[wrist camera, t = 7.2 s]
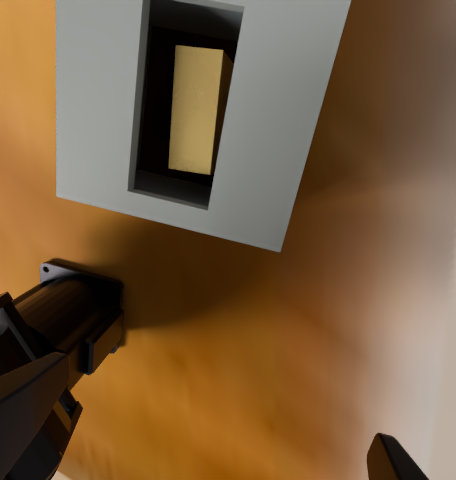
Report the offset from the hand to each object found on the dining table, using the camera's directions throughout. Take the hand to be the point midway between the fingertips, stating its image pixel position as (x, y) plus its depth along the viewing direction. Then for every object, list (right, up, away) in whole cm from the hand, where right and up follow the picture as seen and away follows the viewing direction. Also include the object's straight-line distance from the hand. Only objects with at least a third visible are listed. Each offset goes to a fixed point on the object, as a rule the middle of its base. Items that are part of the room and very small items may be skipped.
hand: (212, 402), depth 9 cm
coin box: (0, +12, +9) cm, 15 cm away
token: (0, +12, +9) cm, 15 cm away
